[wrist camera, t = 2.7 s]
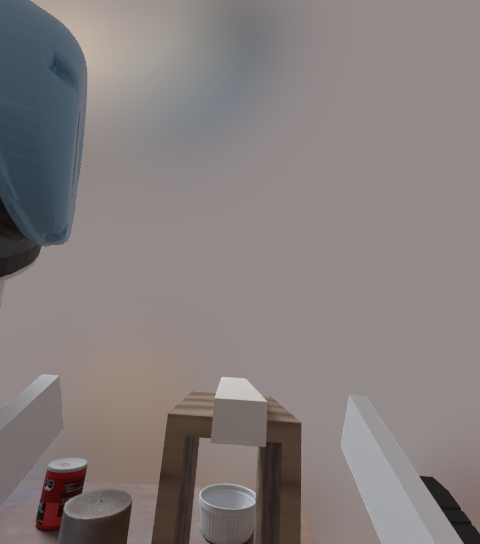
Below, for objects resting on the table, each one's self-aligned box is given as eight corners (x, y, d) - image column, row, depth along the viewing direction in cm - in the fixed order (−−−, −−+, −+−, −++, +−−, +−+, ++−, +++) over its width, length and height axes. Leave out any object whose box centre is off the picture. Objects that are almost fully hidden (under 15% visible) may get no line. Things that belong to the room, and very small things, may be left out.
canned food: (43, 513, 66) (55, 457, 69) (81, 512, 67) (91, 457, 70) (27, 532, 59) (42, 469, 62) (70, 530, 60) (82, 469, 63)
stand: (298, 862, 22) (301, 422, 31) (111, 854, 22) (168, 413, 30) (263, 616, 43) (271, 397, 52) (168, 611, 43) (192, 391, 51)
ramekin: (233, 511, 72) (235, 479, 74) (269, 539, 62) (270, 500, 64) (185, 525, 65) (189, 489, 67) (216, 559, 55) (220, 515, 57)
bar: (265, 446, 21) (267, 401, 22) (210, 443, 21) (214, 398, 22) (244, 398, 48) (245, 378, 49) (220, 396, 48) (221, 376, 49)
